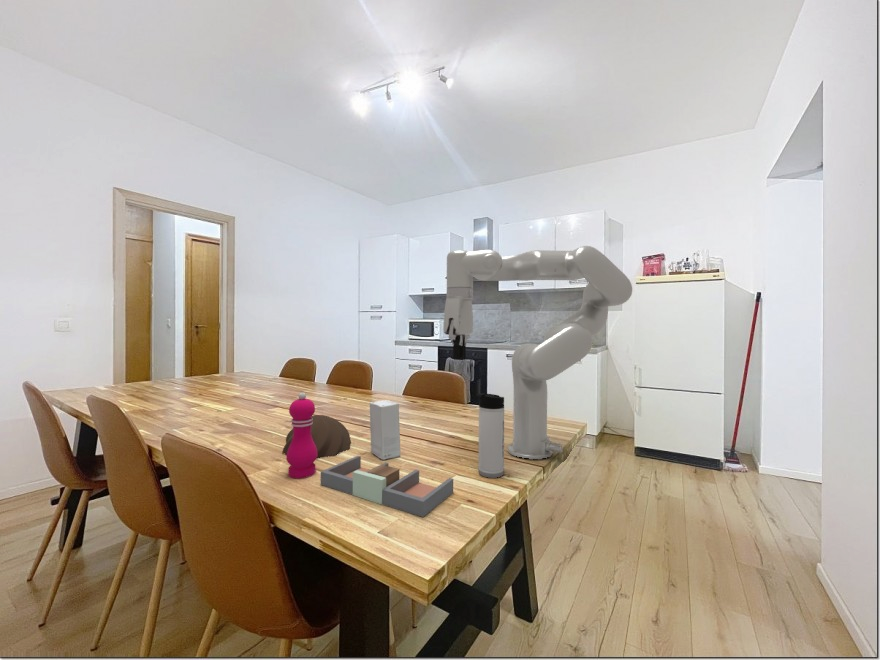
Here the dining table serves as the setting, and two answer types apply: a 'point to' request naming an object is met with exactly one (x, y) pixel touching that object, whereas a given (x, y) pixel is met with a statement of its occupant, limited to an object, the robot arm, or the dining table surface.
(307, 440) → the pepper mill
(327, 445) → the decorative dome
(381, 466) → the walnut block
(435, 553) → the dining table surface
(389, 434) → the skincare box
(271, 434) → the dining table surface
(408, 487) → the bay rack
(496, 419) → the travel mug
